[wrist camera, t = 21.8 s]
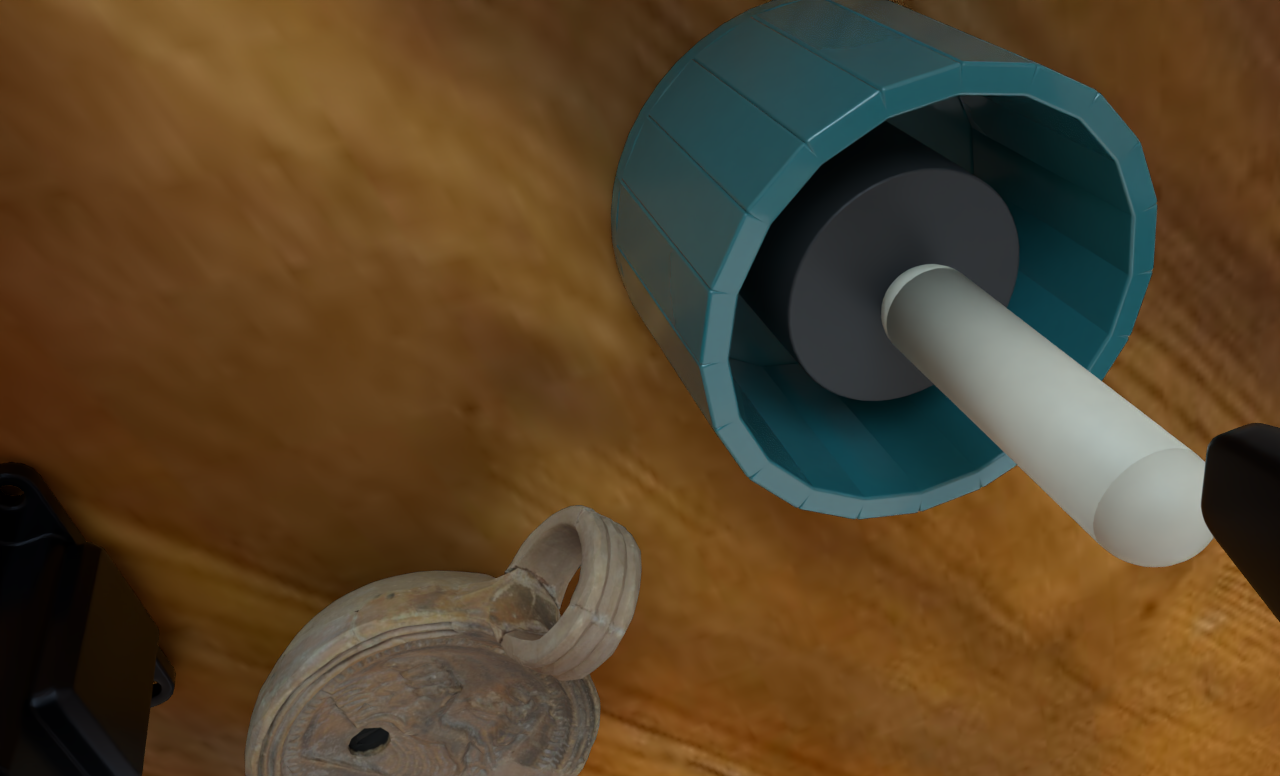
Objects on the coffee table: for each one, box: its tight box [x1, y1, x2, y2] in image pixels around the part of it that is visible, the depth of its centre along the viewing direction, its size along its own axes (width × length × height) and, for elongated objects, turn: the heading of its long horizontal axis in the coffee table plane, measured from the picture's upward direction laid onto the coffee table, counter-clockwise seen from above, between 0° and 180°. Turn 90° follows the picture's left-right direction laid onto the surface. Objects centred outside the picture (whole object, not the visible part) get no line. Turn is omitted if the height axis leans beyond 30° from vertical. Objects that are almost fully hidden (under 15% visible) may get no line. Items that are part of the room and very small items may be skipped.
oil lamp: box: [245, 505, 641, 776], centre depth 23 cm, size 13×8×5 cm, turn 140°
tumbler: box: [611, 0, 1158, 519], centre depth 20 cm, size 8×8×6 cm
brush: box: [739, 121, 1213, 567], centre depth 17 cm, size 4×4×11 cm
